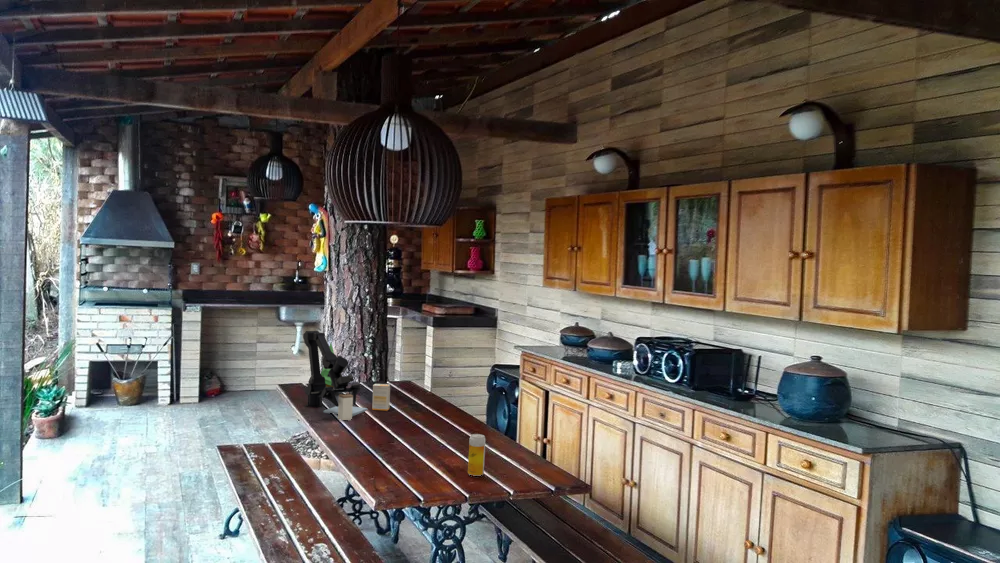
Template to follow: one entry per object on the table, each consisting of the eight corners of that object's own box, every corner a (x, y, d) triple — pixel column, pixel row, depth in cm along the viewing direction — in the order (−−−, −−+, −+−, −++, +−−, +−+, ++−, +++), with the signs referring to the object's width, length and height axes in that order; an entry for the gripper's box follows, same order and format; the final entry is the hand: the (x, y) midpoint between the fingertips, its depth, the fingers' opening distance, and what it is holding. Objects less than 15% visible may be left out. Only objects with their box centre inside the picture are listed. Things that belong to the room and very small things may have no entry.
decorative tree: (332, 390, 417) (334, 339, 415) (346, 395, 405) (348, 342, 404) (310, 393, 408) (313, 340, 406) (324, 398, 396) (327, 343, 395)
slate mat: (323, 412, 362) (323, 410, 362) (339, 406, 377) (340, 404, 377) (352, 416, 357) (352, 414, 357) (367, 410, 372) (367, 408, 372)
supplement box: (389, 409, 378) (390, 384, 377) (387, 411, 373) (388, 385, 372) (374, 408, 378) (375, 383, 378) (371, 409, 374) (372, 384, 373)
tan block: (337, 418, 351) (338, 394, 350) (347, 417, 354) (348, 393, 353) (342, 421, 347) (343, 396, 346) (351, 419, 350) (353, 395, 350)
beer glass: (467, 472, 277) (469, 433, 276) (483, 472, 277) (485, 434, 277) (467, 477, 271) (470, 437, 270) (484, 477, 271) (486, 438, 271)
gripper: (325, 370, 347) (334, 397, 339) (359, 368, 359) (370, 394, 351) (317, 384, 353) (326, 410, 345) (351, 381, 365) (361, 407, 357)
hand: (346, 405), depth 349 cm, fingers open, 9 cm apart
